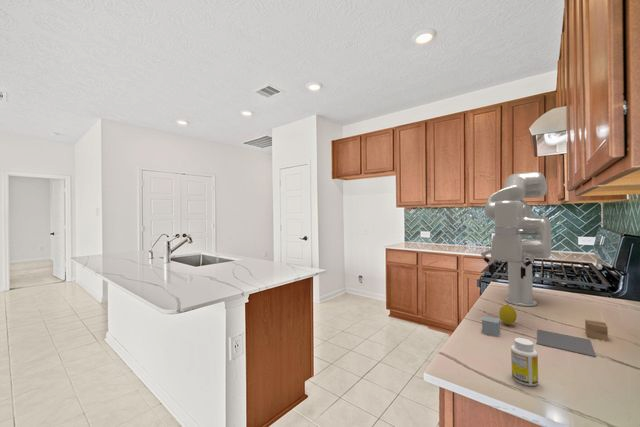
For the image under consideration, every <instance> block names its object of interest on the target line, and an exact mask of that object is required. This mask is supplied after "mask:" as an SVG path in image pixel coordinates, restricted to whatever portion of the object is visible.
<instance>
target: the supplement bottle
mask: <svg viewBox="0 0 640 427" xmlns="http://www.w3.org/2000/svg"><path fill="white" fill-rule="evenodd" d="M510 355H511V356H510V357H511V358H510V360H511V376H512V378H513V380H514V381H516V382H518V383H519V384H521V385H523V386H529V387H534V386H537V385H538V384H539V367H538V366H539V363H538V362H539V360H538V352H537V350H536V349H535V347H534V342H533V341H531V340H529V339H527V338H523V337H516V338H515V339H514V344H512V345H511V347H510Z"/></svg>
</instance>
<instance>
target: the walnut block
mask: <svg viewBox="0 0 640 427" xmlns="http://www.w3.org/2000/svg"><path fill="white" fill-rule="evenodd" d="M584 327H585V328H584V330H585V332H584V333H585V335H586V339H593V340H597V339H598V341H602V340H604V341H603V342H607V341H608V342H609V340H608V336H609V335H608V332H609V331H608V330H609V329H608V325H607V324H606V322H605V321H599V320H593V319H588V318H585V319H584Z"/></svg>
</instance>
